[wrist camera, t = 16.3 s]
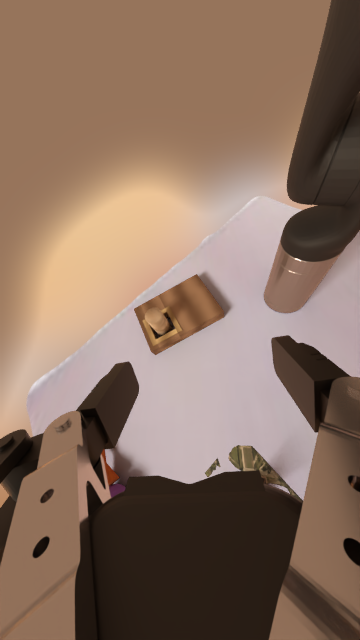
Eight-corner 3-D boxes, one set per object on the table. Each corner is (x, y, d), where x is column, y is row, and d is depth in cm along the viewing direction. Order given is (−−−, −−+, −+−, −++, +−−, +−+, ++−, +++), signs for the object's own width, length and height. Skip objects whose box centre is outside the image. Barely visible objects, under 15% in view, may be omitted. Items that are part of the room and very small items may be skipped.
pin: (168, 320, 50) (157, 304, 42) (174, 332, 48) (164, 317, 40) (156, 327, 50) (142, 312, 42) (161, 339, 48) (148, 326, 40)
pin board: (198, 280, 53) (196, 273, 50) (224, 317, 46) (223, 311, 44) (138, 313, 53) (133, 308, 50) (155, 354, 46) (150, 351, 44)
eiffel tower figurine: (315, 513, 29) (374, 584, 17) (276, 569, 28) (310, 689, 16) (239, 431, 36) (243, 443, 24) (203, 473, 34) (190, 507, 23)
